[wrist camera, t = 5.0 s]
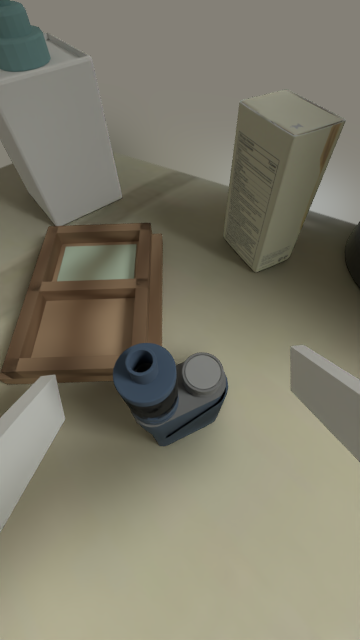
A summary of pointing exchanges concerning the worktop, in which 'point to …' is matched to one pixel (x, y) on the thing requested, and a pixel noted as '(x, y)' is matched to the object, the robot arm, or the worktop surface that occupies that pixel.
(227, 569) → the worktop surface
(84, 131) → the soap bottle
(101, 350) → the divided wooden tray
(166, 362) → the vaping device
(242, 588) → the worktop surface
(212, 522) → the worktop surface
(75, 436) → the worktop surface
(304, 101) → the skincare box
